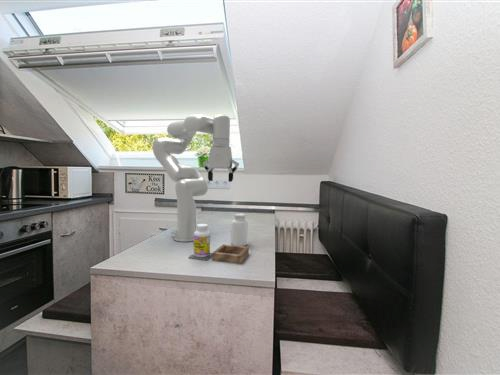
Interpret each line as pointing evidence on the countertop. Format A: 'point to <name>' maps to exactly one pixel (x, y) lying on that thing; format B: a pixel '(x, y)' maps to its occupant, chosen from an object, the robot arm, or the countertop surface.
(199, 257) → the mat
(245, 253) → the block
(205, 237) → the supplement bottle
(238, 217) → the pill bottle
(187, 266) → the countertop surface
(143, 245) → the countertop surface
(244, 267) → the countertop surface
